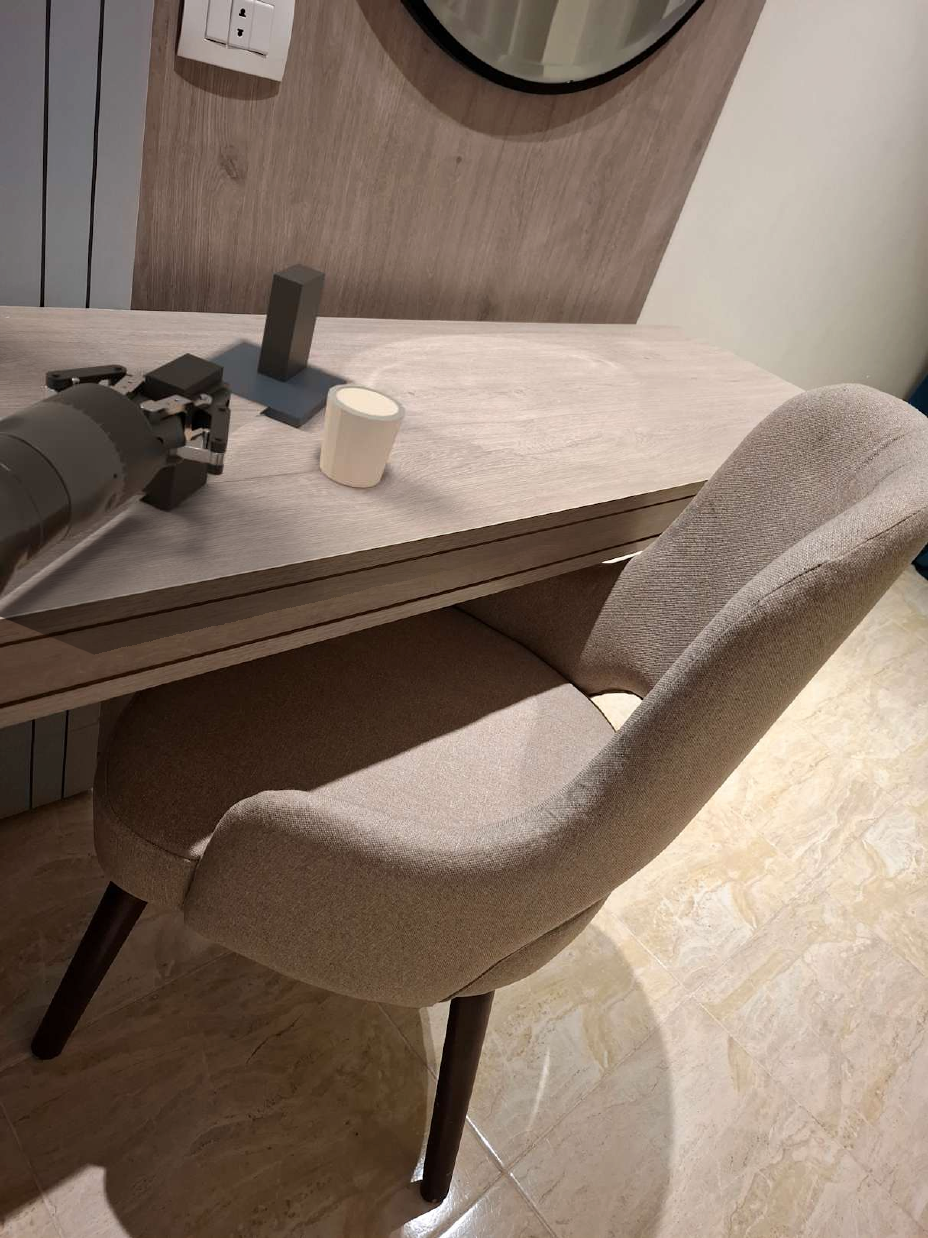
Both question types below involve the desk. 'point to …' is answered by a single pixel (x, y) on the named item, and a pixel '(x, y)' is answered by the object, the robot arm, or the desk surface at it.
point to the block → (190, 475)
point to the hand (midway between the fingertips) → (201, 384)
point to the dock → (274, 391)
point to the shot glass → (358, 434)
